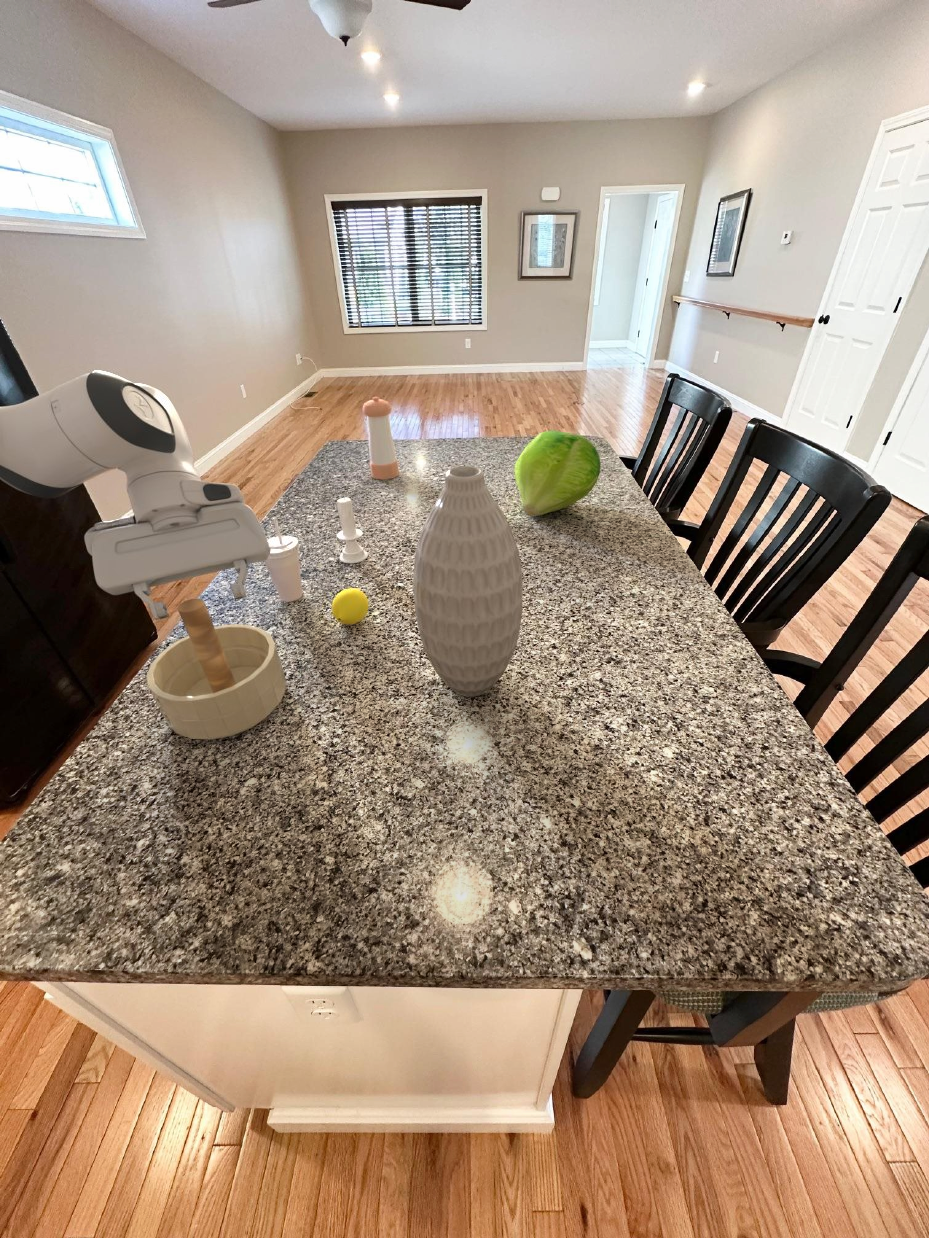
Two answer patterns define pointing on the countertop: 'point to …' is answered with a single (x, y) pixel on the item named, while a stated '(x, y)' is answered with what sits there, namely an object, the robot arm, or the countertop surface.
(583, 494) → the lettuce
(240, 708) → the bowl
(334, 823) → the countertop surface
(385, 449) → the pepper shaker
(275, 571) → the smoothie
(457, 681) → the vase
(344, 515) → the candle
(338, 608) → the lemon
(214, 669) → the stick
